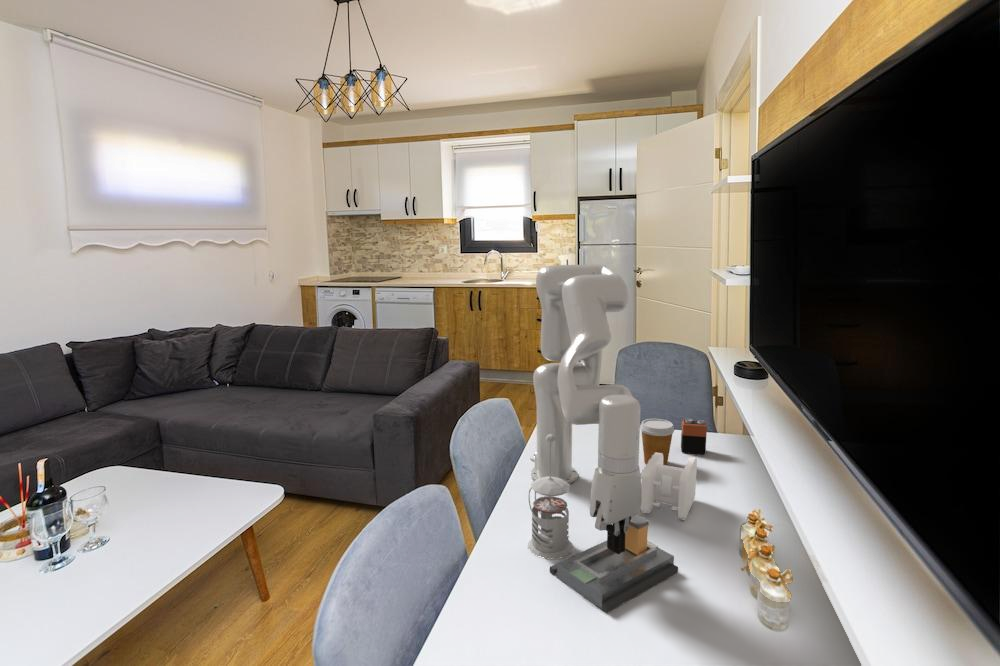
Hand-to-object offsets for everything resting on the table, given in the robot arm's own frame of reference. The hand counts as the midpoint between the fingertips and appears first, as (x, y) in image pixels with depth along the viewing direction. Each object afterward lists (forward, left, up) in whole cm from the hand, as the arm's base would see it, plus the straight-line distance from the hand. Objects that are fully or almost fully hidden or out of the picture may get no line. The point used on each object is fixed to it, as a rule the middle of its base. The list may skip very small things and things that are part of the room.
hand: (615, 549), depth 111 cm
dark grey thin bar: (+6, 0, -5) cm, 8 cm away
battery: (-29, +65, -5) cm, 72 cm away
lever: (0, +6, -2) cm, 6 cm away
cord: (-8, 0, -5) cm, 9 cm away
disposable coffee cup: (-30, +49, -5) cm, 58 cm away
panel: (0, 0, -5) cm, 5 cm away
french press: (-16, -3, -5) cm, 18 cm away
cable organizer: (-11, +30, -6) cm, 33 cm away
